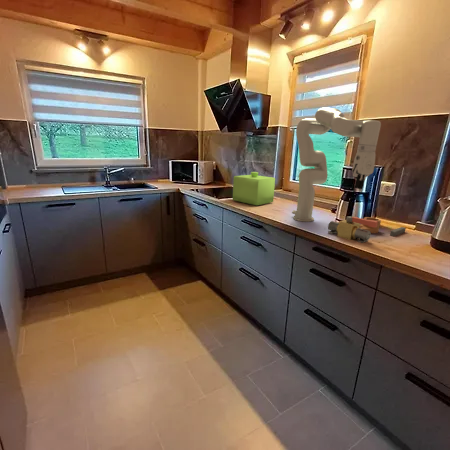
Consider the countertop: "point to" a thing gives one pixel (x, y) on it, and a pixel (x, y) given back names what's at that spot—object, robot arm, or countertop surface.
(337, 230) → the valve body
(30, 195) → the countertop surface
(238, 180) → the canister
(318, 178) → the robot arm
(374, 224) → the lever
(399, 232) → the block
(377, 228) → the small saucepan
